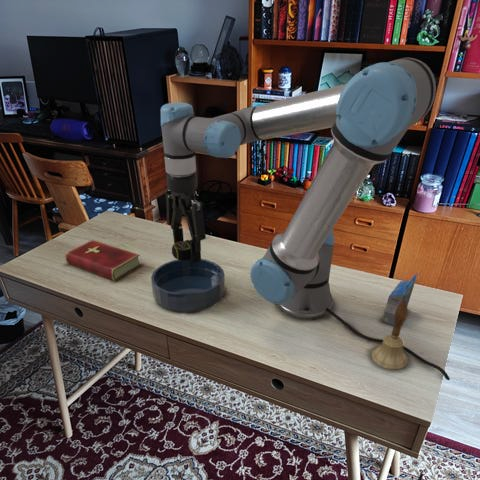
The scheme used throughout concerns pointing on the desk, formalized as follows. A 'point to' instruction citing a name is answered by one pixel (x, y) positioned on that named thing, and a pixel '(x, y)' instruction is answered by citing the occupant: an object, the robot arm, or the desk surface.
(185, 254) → the tape measure
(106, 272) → the hardcover book
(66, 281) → the desk surface
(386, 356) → the hand bell
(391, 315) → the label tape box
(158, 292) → the bowl
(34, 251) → the desk surface
